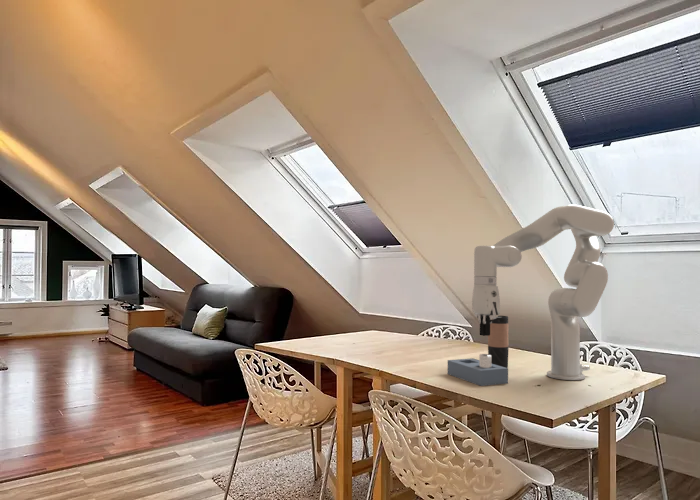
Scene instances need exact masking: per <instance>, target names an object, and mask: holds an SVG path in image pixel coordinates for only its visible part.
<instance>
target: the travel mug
mask: <svg viewBox="0 0 700 500" xmlns="http://www.w3.org/2000/svg"><path fill="white" fill-rule="evenodd" d="M509 346H510V345H509V316H508V315H497V316H496V319H494V320H492V323H491V324H490V335H489V336H487V354H490V355H492V364H495V365H498V366H502V367H505V368H508V369H509Z"/></svg>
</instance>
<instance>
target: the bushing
mask: <svg viewBox="0 0 700 500" xmlns="http://www.w3.org/2000/svg"><path fill="white" fill-rule="evenodd" d="M478 357H479V358H478V360H479V367H480V368H483V369H485V368H492V355H490V354H488V353H479V356H478Z"/></svg>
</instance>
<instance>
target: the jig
mask: <svg viewBox="0 0 700 500" xmlns="http://www.w3.org/2000/svg"><path fill="white" fill-rule="evenodd" d="M447 375H450V376H451V377H455V378H458V379H461V380H463V381H466V382H470V383H472V384H475V385H478V386H479V387H484V386H494V385H503V384H509V367H508V368H505V367H502V366H498V365H495V364H492V368H485V369H483V368H480V367H479V359H477V358H476V359H475V358H472V357H471V358H460V359H459V358H458V359H447Z"/></svg>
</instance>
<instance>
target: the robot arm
mask: <svg viewBox="0 0 700 500" xmlns="http://www.w3.org/2000/svg"><path fill="white" fill-rule="evenodd" d="M614 226H615V221H614V219H613V216H612V215H611V214H610V213H608V212H606V211H603V210H600V209H596V208H591V207H587V206H584V205H583V206H582V205H578V204H567V205H562V206H556V207H554V208H552V209H550V210H549V211H548V212H546V213H544V214H543V215H542V216H540V217H538V218H537V219H535V220H534V221H533V222H532V223H529V225H527V226H525V227H522V228H521V229H519V230H517V231H514V232H513V233H511V234H509V235H507V236H505V237H504V238H502V239H501V240H500V239H499V241H497V242H496V243H495V244H493V245H476V246H475V247H474V253H473V257H474V258H473V264H474V265H473V274H474V275H473V290H472V301H471V308H472V312H473V316H474V317H475V318H477V319H478V323H479V335H480V336H484V337H486V336H487V337H488V336H489V335H490V324H491V323H492V320H494V319H496V317H497V316H500V314H501V302H500V290H499V286H498V284H497V283H498V282H497V280H498V279H497V275H498V271H497V270H498V269H497V268H513V267H516V266H518V264H520V263H521V261H522V257H523V256H522V252H526V251H527V250H528V251H529V250H533V249H537V248H539V247H541V246H544V245H545V244H547V243H548V242H549V241H551V240H552V239H553V238H555V237H556V236H558V235H559V234H561V233H562V232H564V231H566V230H567V231H568V230H571V233H572V235H573V237H574V241H575V250H574V252H573V254H572V256H571V259H570V261H569V263H568V264H567V266H566V269H565V272H564V275H563V280H564V282H565V284H566V285H567V286H569V287H571V288H569V287H560V288H556V289H554V290H553V291H552V292H550V294H549V296H548V301H547V302H548V303H547V304H548V305H547V306H548V311H549V315H550V316H549V317H550V338H551V339H550V348H551V349H550V352H551V353H550V354H551V355H550V356H551V357H550V360H551V361H550V362H551V363H550V364H551V365H550V366H551V367H550V370H548V371H546V376H547V377H549V378H552V379H557V380H563V381H580V380H581V381H582V380H584V379H586V377H585V376H586V374H584V373H583V372H584V371H589V370H591V366H590V365H589V364H582V363H581V351H580V349H581V348H580V347H581V344H580V343H581V342H580V341H581V340H580V337H581V335H580V334H581V327H580V322H579V319H578V318H586V317H589V316H591V315H592V314H593V313H594V311H595V310H596V309H597V306H598V304H599V302H600V301H601V297H602V295H603V293H604V291H605V288H606V287H607V285H608V281H609V280H608V279H609V274H608V270H607V268H606V267H605V265H604V264H602V263H600V262H598V261H599V259H600V256H601V246H600V243H599V240H598V237H603V236H607V235H609V234H610V233H611V232H612V231H613V229H614Z"/></svg>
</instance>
